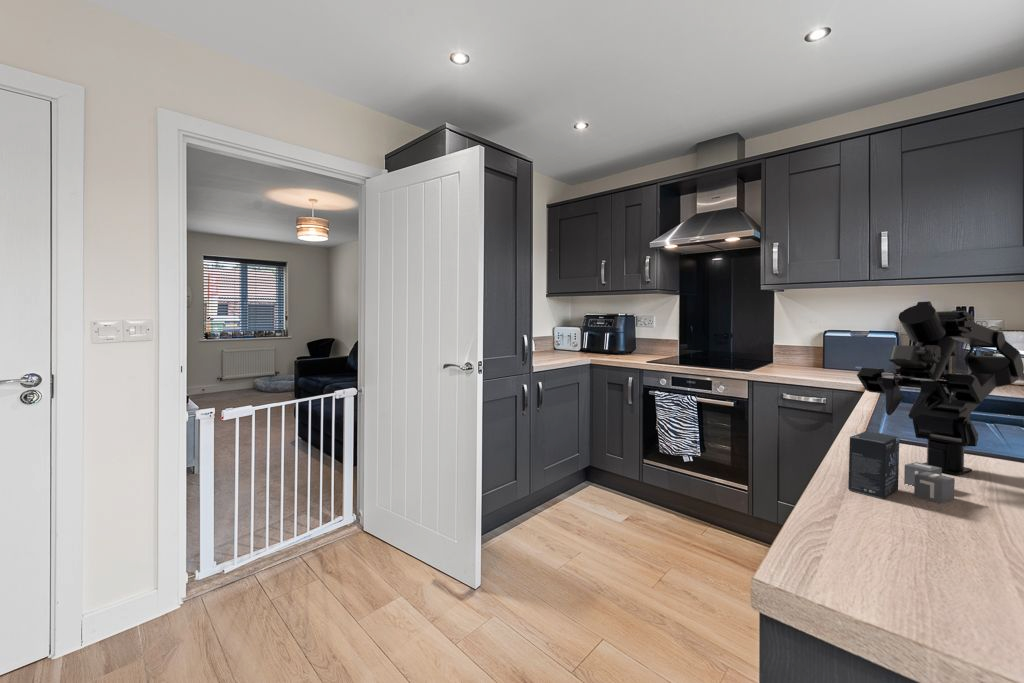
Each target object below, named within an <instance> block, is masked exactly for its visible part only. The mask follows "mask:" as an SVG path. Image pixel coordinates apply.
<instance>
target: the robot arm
mask: <svg viewBox="0 0 1024 683" xmlns="http://www.w3.org/2000/svg"><path fill="white" fill-rule="evenodd" d="M898 320H899V323H900V324H901V325H902V327H903V329H904V331H905V333H906V334H907V337H908V338H909V340H910V341H912V342H915V343H916V344H915V345H897V344H896V345H892V348H891V351H890V355H889V358H888V361H889V362H891V363H893V364H894V365H895V367H894V370H895V372H896V373H899V375H898V374H896V373H892V372H886V371H885V369H884V368H882V367H881V368H879V367H878V368H877V367H869V366H868V367H861V368H860V369H859V370H858V372H857V374H856V377H857V378H858V380H859V381H860V383H861V385H862V386H863V388H864V389H865V390H866V391H867V392H869V393H875V394H884V395H885V413H886V414H887V416H892V414H893V413H894V412H895V411H896V410H897V408H898V406H899V405H900V404H901V403H902V401H903V399H904V395H903V393H902V392H901V389H902V388H904V389H915V390H920V391H919V393H918V394H917V397H916V399H915V400H914V402H913V403H912V405H911V407H910V410H909V412H908V414H907V415H908V418H909V419H910V420H912V423H913V428H914V429H913V430H914V434H915V438H917V439H924V440H926V441H927V442H926V443H927V444H926V446H927V447H926V448H927V449H926V462H922V464H926V465H931V466H935V467H940V468H942V473H944V474H945V473H946V474H951V475H955V476H958V475H963V474H966V473H970V472H973V469H972V468H969V467H966V466H965V447H967V448H968V447H978V445H977V444H978V441H979V433H978V431H977V430H976V428H975V425H974V424H973V422H972V420H971V418H970V415H971V413H972V412H973V411H975V410H976V408H978V406H979V405H981V404H982V402H983V401H984V400H985V399H986V398H987V397H988V396H989V395H990V394H991V393H992V392H993V391H994V390H995V389H996V388H1001V387H1005V386H1010V385H1012V384H1014V383H1015V382H1017V381H1018V380H1019V379H1020V378H1022V376H1024V363H1023V358H1022V355H1021V352H1020V351H1019V349H1017V348H1015V347H1014V346H1013V345H1011V343H1009V342H1008V341H1007V340H1006V337H1005V334H1004V332H1003V331H999V330H996V329H992V328H989V327H986V326H984V325H982V324H979V323H976V322H975V317H974V316H973V315H972V314H971V313H969V312H968V311H966V310H954V311H953V310H950V311H948V310H947V311H946V310H945V311H937V309H936V308H935V307H934V306H933V304H932V301H928V300H927V301H918V302H917V303H916V305H912V306H909V307H907V308H905V309H904V310H903V311H900V313H899V314H898ZM955 340H956V341H958V342H961V343H965V344H967V345H968V346H969V350H968V352H967V353H966V355H965V356H964V364H965V366H966V369H967V372H968V373H967V374H966V373H954V372H953V373H952V372H951V373H949V372H948V370H947V369H946V366H947V364H948V362H949V360H950V357H956V356H957V350H956V345H957V344H956V342H955ZM975 348H990V349H991V348H992V349H993V348H994V349H996V351H997V352H998V353H1000V355H1002V356H1000V355H978V354H977V355H976V354H975V352H974V351H975ZM947 372H948V373H947ZM941 376H944V379H943V380H941V379H940V378H941Z"/></svg>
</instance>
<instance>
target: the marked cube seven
mask: <svg viewBox="0 0 1024 683" xmlns="http://www.w3.org/2000/svg"><path fill="white" fill-rule="evenodd" d="M955 483H956V482H955V477H951V476H948V475H947V476H946V475H943V474H942V475H939V474H935V473H931V472H923V473H919V474H915V482H914V487H913V488H914V489H913V490H914V494H913V495H914V496H915V497H919V498H923V499H926V500H929V501H931V502H936V503H940V504H945V503H947V502H951V501H954V500H955Z"/></svg>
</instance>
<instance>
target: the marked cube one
mask: <svg viewBox="0 0 1024 683" xmlns="http://www.w3.org/2000/svg"><path fill="white" fill-rule="evenodd" d="M922 463H923V462H922ZM922 463H921V462H917V461H916V462H912V463H907V464H904V474H903V475H904V479H903V481H904V483H903V484H904V485H905V484H908V485H907V486H909V485H912V486H914V482H915V474H919V473H923V472H931V473H935V474H939V475H943V474H942V473H943V472H942V468H940V467H935V466H931V465H926V464H922ZM912 486H911V487H912Z"/></svg>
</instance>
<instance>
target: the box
mask: <svg viewBox="0 0 1024 683" xmlns="http://www.w3.org/2000/svg"><path fill="white" fill-rule="evenodd" d="M900 438H901V437H900V436H896V435H890V434H885V433H879V432H873V431H867V430H865V431H862V432H860V433H858V434H854V435H851V436H850V437H849V447H848V448H849V449H848V450H849V451H848V485H847V487H848V490H849V491H851V492H855V493H858V494H862V495H866V496H870V497H874V498H877V499H881V500H883V499H885V498H887V497H889V496H890V495H891V494H893V493H894V492H897V491H898V490H899V476H900V475H899V471H900V470H899V469H900V468H899V466H900V465H899V464H900V440H901V439H900Z"/></svg>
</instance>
